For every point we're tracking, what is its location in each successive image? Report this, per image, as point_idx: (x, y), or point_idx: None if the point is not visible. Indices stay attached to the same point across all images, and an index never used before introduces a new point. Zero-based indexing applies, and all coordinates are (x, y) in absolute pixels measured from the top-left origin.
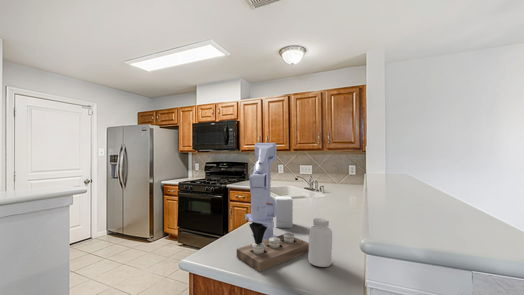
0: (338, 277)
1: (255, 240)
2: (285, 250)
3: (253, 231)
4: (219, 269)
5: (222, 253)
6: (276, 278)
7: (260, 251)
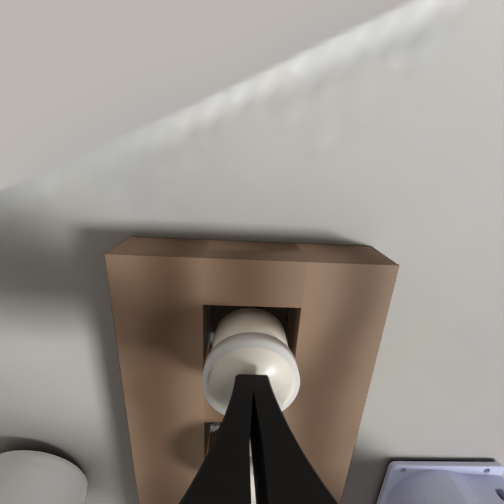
0: None
1: (257, 394)
2: (154, 454)
3: (283, 485)
4: (322, 49)
5: (482, 206)
6: (23, 258)
7: (212, 346)
